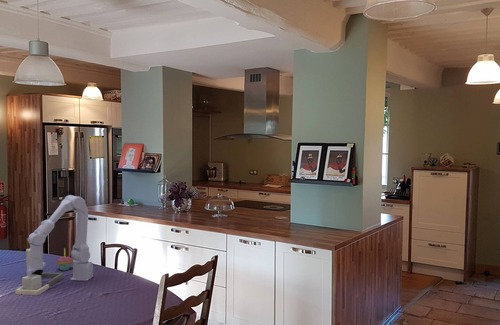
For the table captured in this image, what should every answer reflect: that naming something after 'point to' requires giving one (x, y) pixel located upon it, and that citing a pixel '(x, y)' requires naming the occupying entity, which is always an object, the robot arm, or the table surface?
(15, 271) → the table surface
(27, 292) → the bracket frame
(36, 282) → the skincare box
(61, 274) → the frame
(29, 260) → the skincare box
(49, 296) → the table surface
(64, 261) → the cupcake
